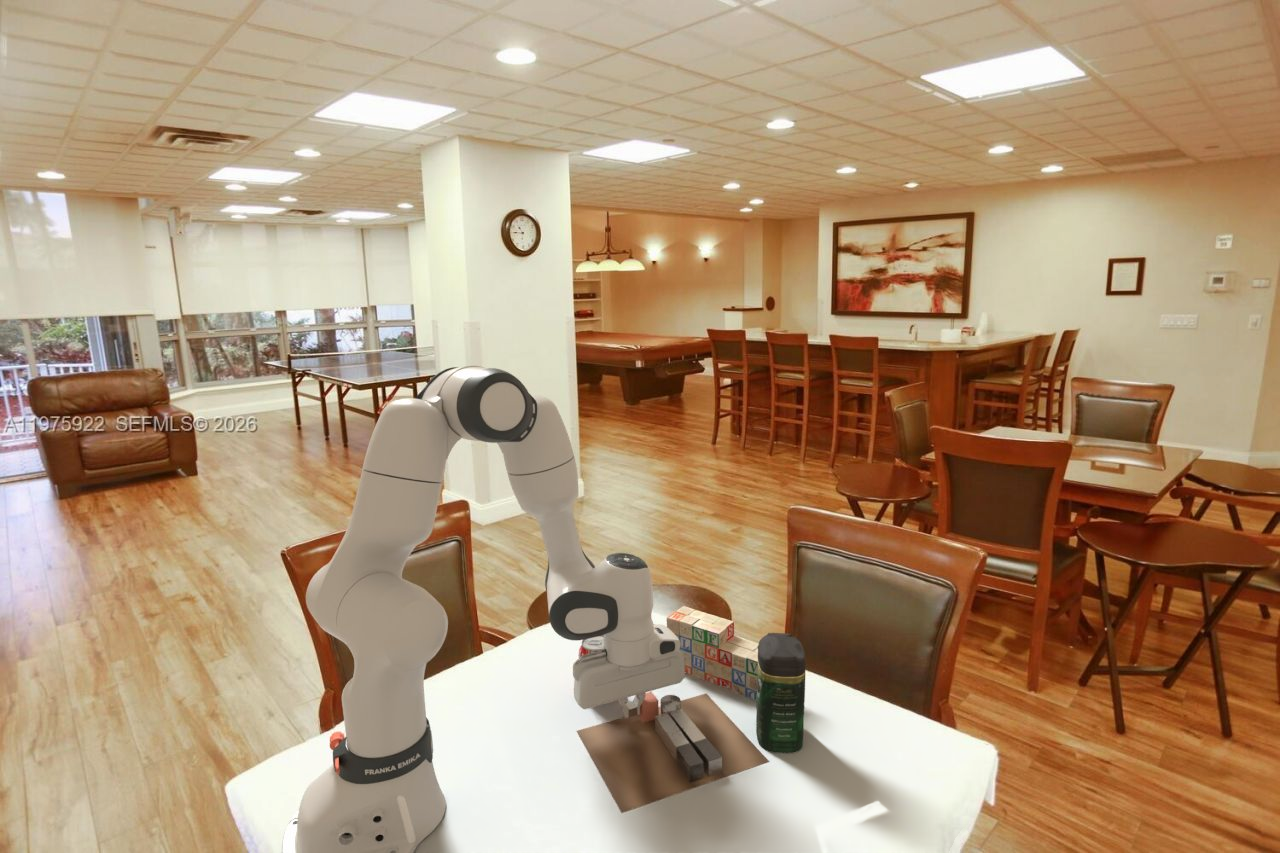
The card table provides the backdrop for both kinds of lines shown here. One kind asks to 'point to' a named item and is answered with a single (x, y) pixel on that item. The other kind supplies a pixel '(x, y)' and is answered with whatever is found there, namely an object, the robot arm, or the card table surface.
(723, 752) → the board
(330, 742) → the robot arm
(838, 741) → the card table surface
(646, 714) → the tab
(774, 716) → the coffee jar
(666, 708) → the tongs arm
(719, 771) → the tongs fixed arm
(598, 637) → the soda can
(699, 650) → the stack of blocks
